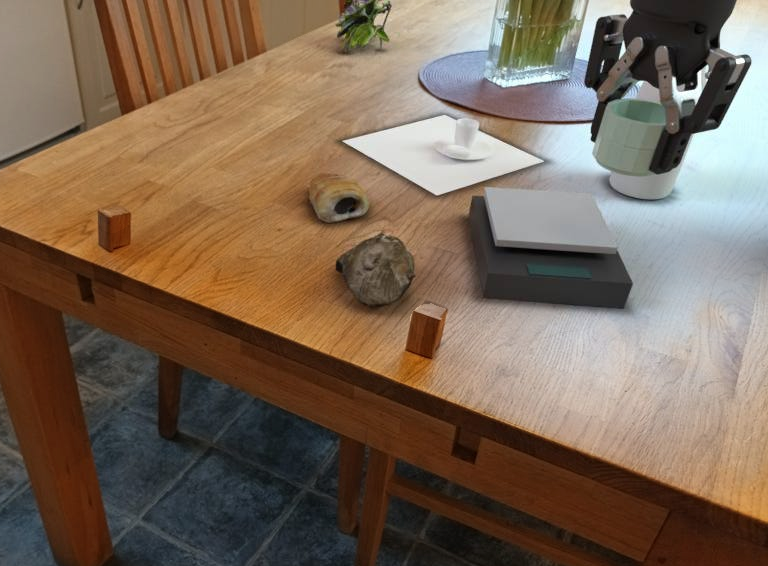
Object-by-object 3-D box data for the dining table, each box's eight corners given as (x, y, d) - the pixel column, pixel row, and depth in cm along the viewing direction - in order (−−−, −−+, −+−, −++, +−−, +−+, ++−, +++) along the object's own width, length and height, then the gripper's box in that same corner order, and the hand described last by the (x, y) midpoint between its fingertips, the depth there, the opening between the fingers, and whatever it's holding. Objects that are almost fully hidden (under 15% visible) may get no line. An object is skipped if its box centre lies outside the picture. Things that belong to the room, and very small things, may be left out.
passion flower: (347, 70, 144) (360, 9, 144) (396, 69, 139) (409, 7, 138) (320, 47, 135) (333, -18, 134) (371, 45, 129) (385, -22, 128)
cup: (651, 151, 67) (670, 100, 64) (674, 180, 63) (695, 126, 60) (583, 147, 68) (598, 96, 65) (600, 176, 63) (617, 123, 60)
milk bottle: (672, 181, 95) (734, 19, 82) (669, 206, 89) (736, 36, 77) (610, 170, 97) (662, 10, 84) (604, 193, 92) (658, 26, 79)
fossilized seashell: (431, 296, 68) (415, 257, 77) (400, 239, 66) (387, 205, 74) (360, 331, 70) (353, 289, 79) (328, 277, 68) (324, 240, 76)
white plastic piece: (458, 169, 96) (463, 139, 94) (418, 148, 102) (422, 120, 99) (504, 155, 100) (510, 126, 98) (463, 135, 105) (468, 108, 103)
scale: (587, 226, 85) (598, 190, 82) (623, 308, 72) (638, 269, 69) (467, 218, 86) (474, 182, 83) (482, 298, 73) (491, 259, 70)
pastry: (297, 190, 91) (298, 162, 88) (347, 185, 92) (349, 157, 90) (320, 226, 84) (322, 196, 81) (374, 219, 85) (377, 189, 83)
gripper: (822, -39, 51) (725, 181, 61) (661, -72, 60) (602, 122, 71) (749, -31, 48) (661, 197, 59) (594, -68, 58) (543, 133, 69)
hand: (629, 155), depth 65 cm, fingers closed on cup, 6 cm apart
